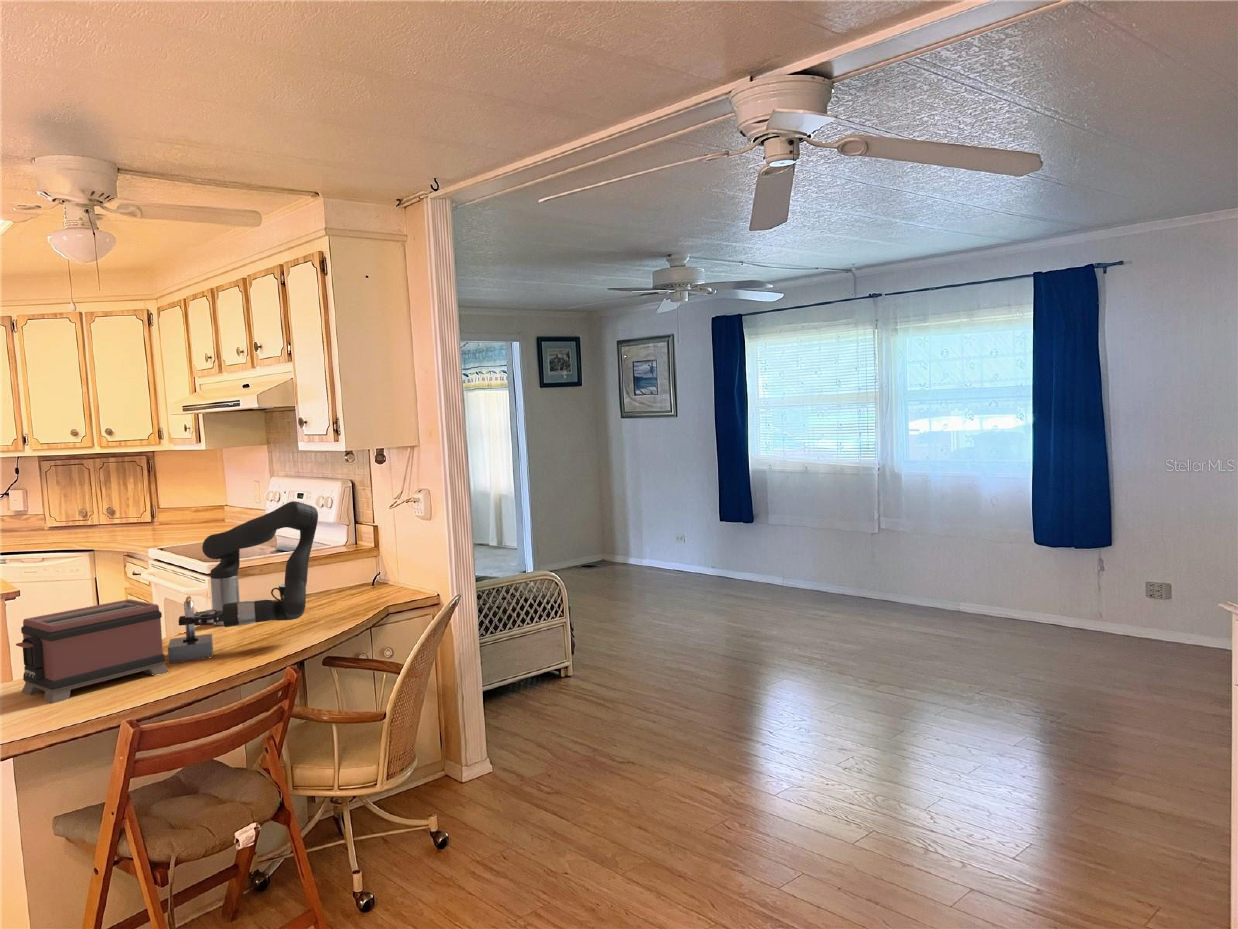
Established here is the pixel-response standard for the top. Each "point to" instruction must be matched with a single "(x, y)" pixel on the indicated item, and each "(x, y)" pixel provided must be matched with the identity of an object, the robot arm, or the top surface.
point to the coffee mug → (281, 590)
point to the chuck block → (190, 649)
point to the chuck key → (189, 613)
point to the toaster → (90, 647)
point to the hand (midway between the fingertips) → (179, 621)
